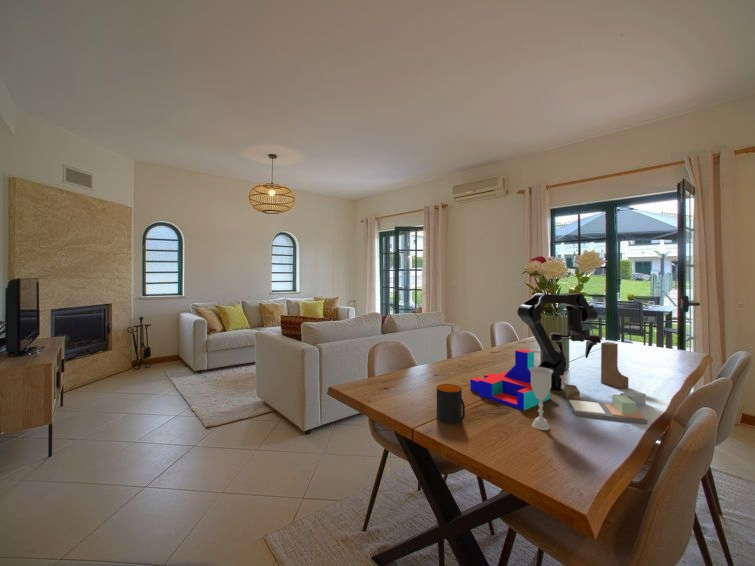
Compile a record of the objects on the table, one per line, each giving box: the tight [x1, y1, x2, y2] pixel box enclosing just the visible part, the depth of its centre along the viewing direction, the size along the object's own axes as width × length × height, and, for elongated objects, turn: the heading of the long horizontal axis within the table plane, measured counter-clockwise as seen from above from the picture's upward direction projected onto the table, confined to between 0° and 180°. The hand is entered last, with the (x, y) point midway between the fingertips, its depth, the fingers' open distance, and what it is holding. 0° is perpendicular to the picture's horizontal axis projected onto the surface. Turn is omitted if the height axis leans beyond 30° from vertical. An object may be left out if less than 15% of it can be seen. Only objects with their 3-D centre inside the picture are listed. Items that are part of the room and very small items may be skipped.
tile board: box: [568, 400, 648, 425], centre depth 116 cm, size 20×12×2 cm, turn 69°
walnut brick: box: [563, 383, 581, 402], centre depth 131 cm, size 4×8×4 cm, turn 159°
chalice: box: [529, 366, 553, 431], centre depth 106 cm, size 7×7×18 cm
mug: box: [436, 383, 466, 425], centre depth 111 cm, size 8×12×10 cm
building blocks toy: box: [469, 348, 551, 411], centre depth 134 cm, size 19×25×18 cm
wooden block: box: [600, 341, 629, 390], centre depth 145 cm, size 9×4×18 cm, turn 23°
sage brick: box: [611, 393, 637, 416], centre depth 114 cm, size 4×8×4 cm, turn 164°
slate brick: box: [619, 390, 647, 407], centre depth 124 cm, size 4×8×4 cm, turn 113°
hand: (574, 357), depth 146 cm, fingers open, 9 cm apart
